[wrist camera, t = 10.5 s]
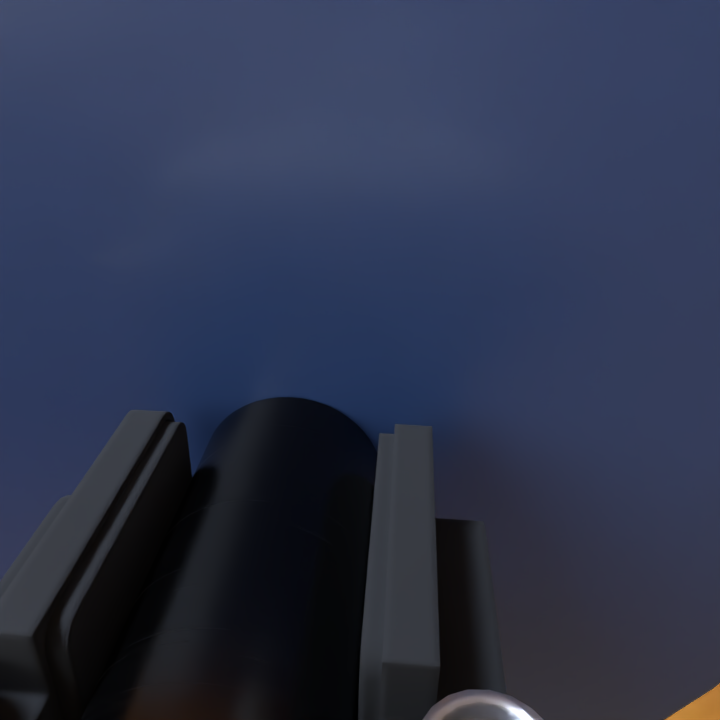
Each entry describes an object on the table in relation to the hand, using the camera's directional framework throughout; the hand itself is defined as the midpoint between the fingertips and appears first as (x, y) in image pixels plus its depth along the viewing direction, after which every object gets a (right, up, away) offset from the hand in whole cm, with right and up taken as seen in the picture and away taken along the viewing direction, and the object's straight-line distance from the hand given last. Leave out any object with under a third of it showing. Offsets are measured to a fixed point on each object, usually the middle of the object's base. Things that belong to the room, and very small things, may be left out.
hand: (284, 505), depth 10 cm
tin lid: (0, +1, +1) cm, 1 cm away
